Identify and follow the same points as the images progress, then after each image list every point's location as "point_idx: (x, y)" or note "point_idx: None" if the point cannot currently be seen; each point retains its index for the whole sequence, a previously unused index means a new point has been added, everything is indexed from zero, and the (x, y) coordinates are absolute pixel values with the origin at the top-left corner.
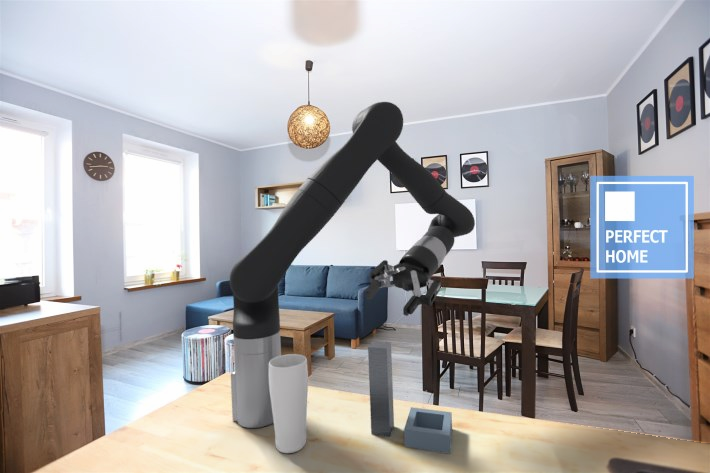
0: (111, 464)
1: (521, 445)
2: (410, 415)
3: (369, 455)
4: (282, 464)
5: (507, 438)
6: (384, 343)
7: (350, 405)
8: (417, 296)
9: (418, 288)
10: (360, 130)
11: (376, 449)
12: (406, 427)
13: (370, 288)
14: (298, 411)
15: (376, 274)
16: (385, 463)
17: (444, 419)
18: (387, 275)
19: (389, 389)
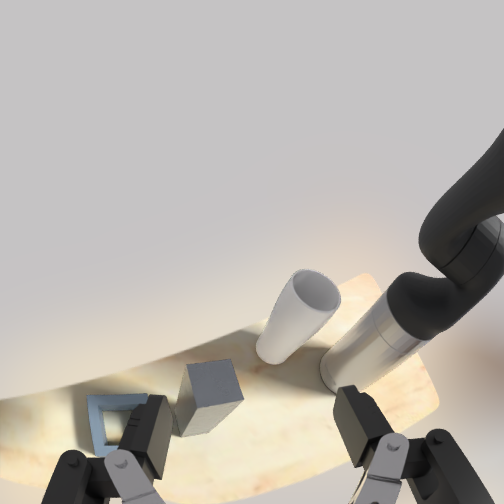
0: (352, 280)
1: (19, 434)
2: None
3: (181, 370)
4: (254, 326)
5: (33, 447)
6: (208, 394)
7: (273, 455)
8: (121, 450)
9: (129, 496)
10: None
11: (178, 383)
12: (145, 397)
13: (356, 397)
14: (268, 319)
15: (430, 464)
16: (158, 364)
17: (100, 432)
18: (369, 479)
19: (180, 402)
